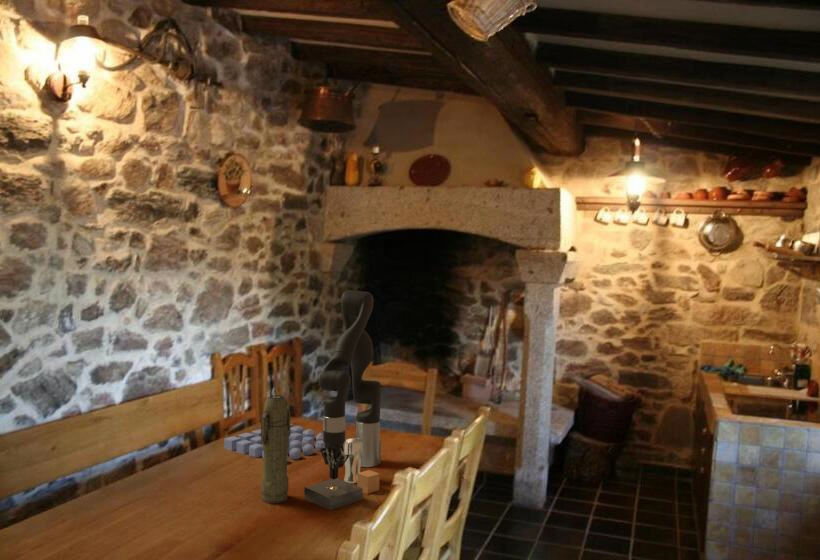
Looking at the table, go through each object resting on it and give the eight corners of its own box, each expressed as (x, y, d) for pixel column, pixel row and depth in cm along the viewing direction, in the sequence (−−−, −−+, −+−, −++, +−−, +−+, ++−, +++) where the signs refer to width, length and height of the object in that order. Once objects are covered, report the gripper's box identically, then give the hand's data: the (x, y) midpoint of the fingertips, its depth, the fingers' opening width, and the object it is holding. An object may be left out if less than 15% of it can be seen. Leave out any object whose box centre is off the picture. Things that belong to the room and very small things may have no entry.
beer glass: (358, 484, 253) (359, 443, 252) (340, 482, 254) (341, 442, 253) (364, 478, 260) (364, 438, 259) (346, 476, 261) (346, 437, 260)
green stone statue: (296, 495, 240) (297, 395, 238) (273, 506, 230) (274, 401, 228) (276, 490, 245) (277, 391, 243) (253, 501, 234) (254, 398, 233)
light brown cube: (368, 486, 252) (369, 469, 251) (379, 490, 248) (379, 473, 248) (357, 489, 248) (357, 473, 247) (367, 493, 244) (367, 477, 244)
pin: (334, 495, 240) (334, 485, 240) (339, 497, 238) (339, 487, 238) (327, 497, 238) (327, 487, 238) (332, 499, 236) (332, 489, 236)
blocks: (285, 433, 321) (285, 422, 320) (341, 447, 300) (341, 436, 300) (223, 450, 292) (224, 438, 292) (281, 467, 272) (281, 454, 272)
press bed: (336, 489, 248) (336, 477, 248) (362, 499, 238) (362, 488, 238) (304, 498, 238) (304, 487, 238) (330, 510, 228) (330, 498, 228)
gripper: (355, 430, 235) (354, 481, 236) (330, 422, 244) (330, 471, 245) (338, 434, 229) (337, 486, 231) (313, 426, 239) (313, 476, 240)
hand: (333, 478), depth 238 cm, fingers closed
